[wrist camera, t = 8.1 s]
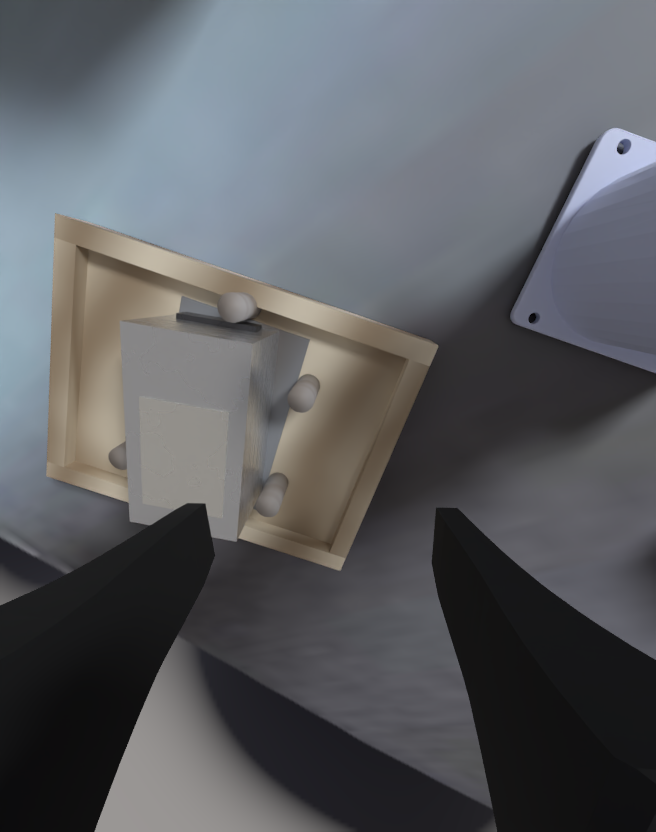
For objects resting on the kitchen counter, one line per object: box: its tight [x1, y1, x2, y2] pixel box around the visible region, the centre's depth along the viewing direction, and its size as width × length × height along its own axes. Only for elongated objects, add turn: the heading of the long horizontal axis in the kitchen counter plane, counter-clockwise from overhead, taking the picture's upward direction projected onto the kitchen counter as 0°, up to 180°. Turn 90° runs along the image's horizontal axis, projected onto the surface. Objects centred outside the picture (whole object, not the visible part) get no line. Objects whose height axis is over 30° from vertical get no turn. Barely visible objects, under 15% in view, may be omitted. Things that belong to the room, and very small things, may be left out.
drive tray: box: [47, 213, 439, 571], centre depth 18 cm, size 18×14×4 cm
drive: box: [120, 312, 279, 542], centre depth 16 cm, size 5×9×5 cm, turn 171°
